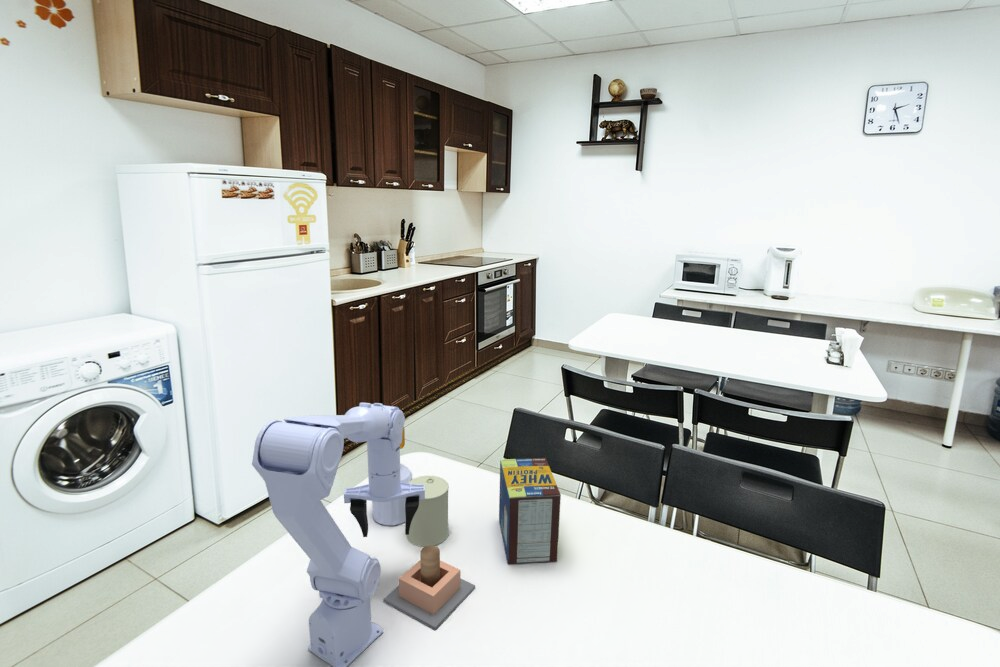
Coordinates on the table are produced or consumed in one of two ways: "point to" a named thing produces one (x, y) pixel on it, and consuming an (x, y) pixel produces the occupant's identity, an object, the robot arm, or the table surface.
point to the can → (430, 513)
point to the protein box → (529, 511)
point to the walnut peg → (430, 565)
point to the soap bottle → (393, 509)
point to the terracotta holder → (429, 595)
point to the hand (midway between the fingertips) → (386, 532)
